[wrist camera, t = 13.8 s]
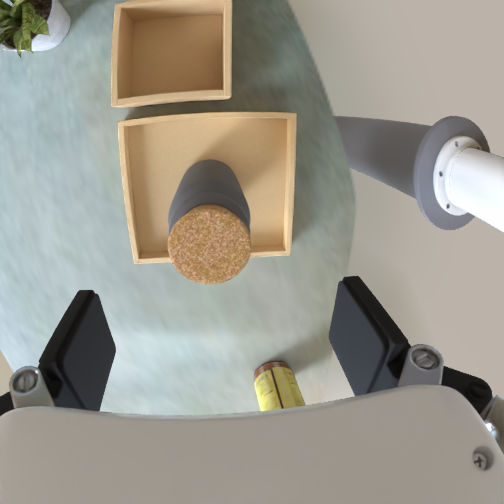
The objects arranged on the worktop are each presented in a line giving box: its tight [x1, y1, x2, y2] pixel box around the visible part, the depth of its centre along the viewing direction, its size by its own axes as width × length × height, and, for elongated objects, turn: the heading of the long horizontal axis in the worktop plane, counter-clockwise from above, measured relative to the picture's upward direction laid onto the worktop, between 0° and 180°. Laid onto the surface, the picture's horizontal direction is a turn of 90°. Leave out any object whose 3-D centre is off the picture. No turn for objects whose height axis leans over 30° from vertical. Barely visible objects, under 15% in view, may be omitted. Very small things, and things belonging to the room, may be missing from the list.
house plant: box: [0, 0, 71, 57], centre depth 12 cm, size 14×14×16 cm
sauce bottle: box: [254, 362, 306, 411], centre depth 35 cm, size 6×6×20 cm
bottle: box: [168, 159, 252, 284], centre depth 23 cm, size 6×6×15 cm
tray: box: [118, 112, 297, 264], centre depth 29 cm, size 17×15×2 cm
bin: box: [111, 0, 232, 108], centre depth 22 cm, size 10×10×5 cm
